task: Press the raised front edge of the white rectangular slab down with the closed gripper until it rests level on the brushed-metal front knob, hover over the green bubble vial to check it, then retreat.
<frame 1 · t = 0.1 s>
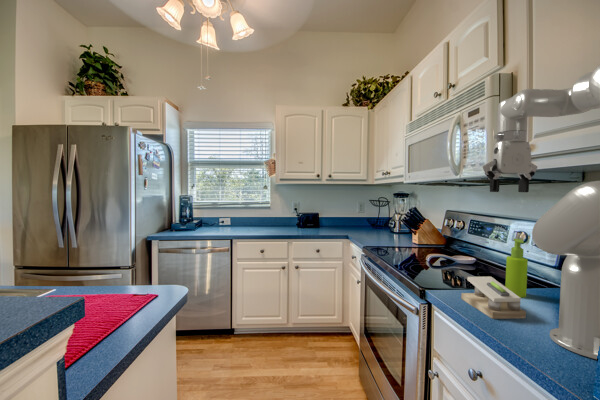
hand: (508, 192, 87), 37 cm above the countertop, tool pointing down, fingers open, 9 cm apart
level base: (490, 307, 85), on the countertop
white rectangular slab: (492, 286, 84), point 7 cm above the countertop, hinge at 12.0°
soap dispenser: (515, 295, 96), on the countertop
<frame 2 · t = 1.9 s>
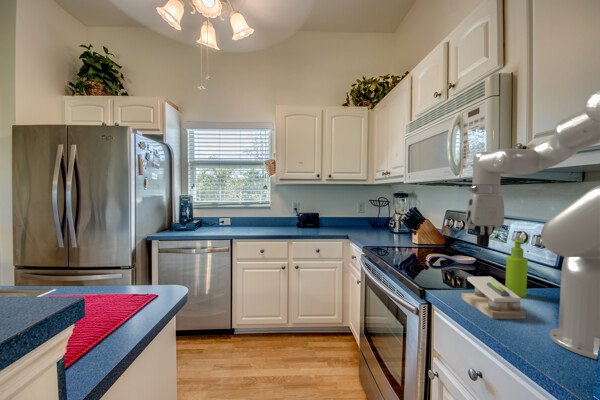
hand: (482, 246, 89), 19 cm above the countertop, tool pointing down, fingers closed
nothing on the countertop moved.
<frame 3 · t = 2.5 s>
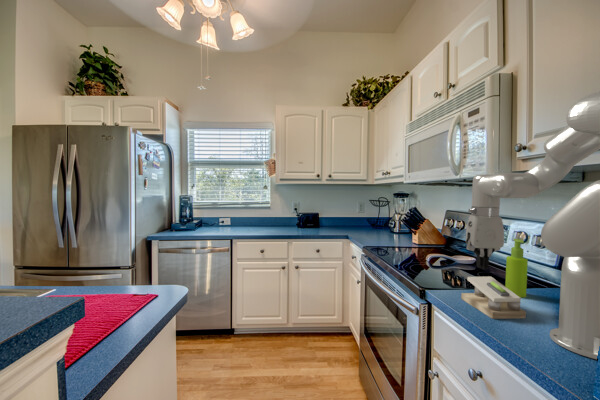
hand: (482, 267, 89), 12 cm above the countertop, tool pointing down, fingers closed
nothing on the countertop moved.
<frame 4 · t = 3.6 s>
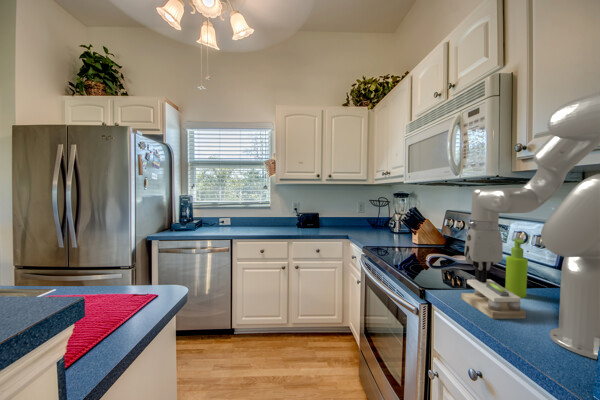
hand: (480, 280, 89), 7 cm above the countertop, tool pointing down, fingers closed
white rectangular slab: (492, 287, 84), point 7 cm above the countertop, hinge at 6.7°, touching gripper
everything else where it was.
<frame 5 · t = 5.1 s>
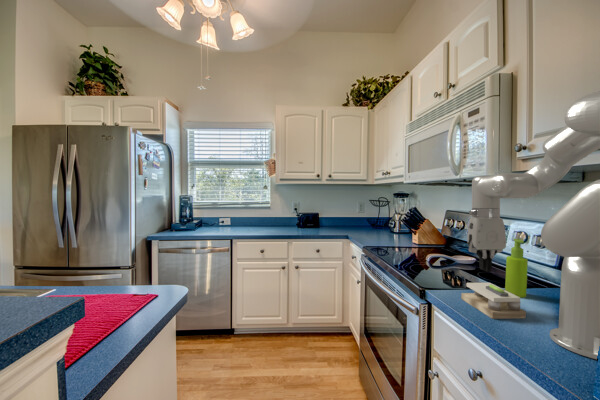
hand: (485, 270, 88), 11 cm above the countertop, tool pointing down, fingers closed
white rectangular slab: (491, 289, 85), point 6 cm above the countertop, hinge at 1.2°
everything else where it was.
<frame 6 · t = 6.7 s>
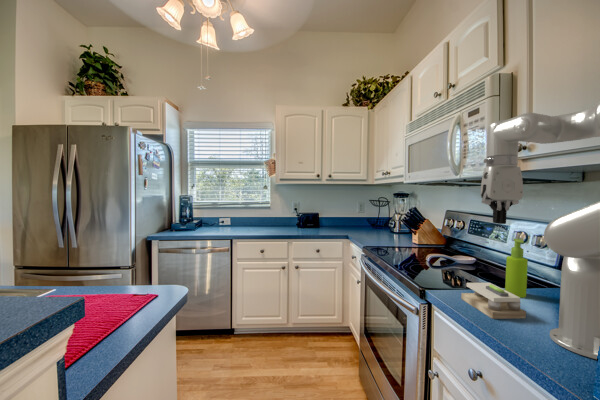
hand: (499, 223, 82), 27 cm above the countertop, tool pointing down, fingers closed
nothing on the countertop moved.
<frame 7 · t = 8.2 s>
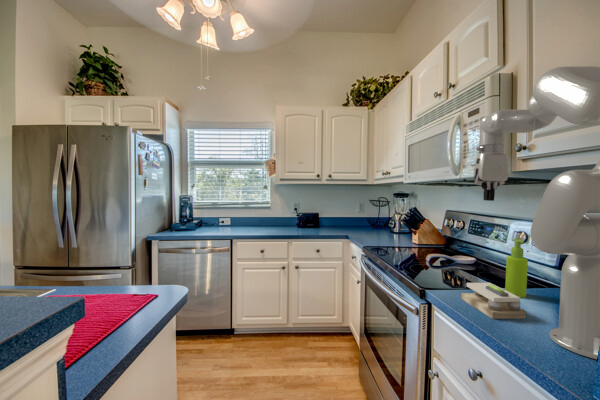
hand: (488, 200, 100), 33 cm above the countertop, tool pointing down, fingers closed
nothing on the countertop moved.
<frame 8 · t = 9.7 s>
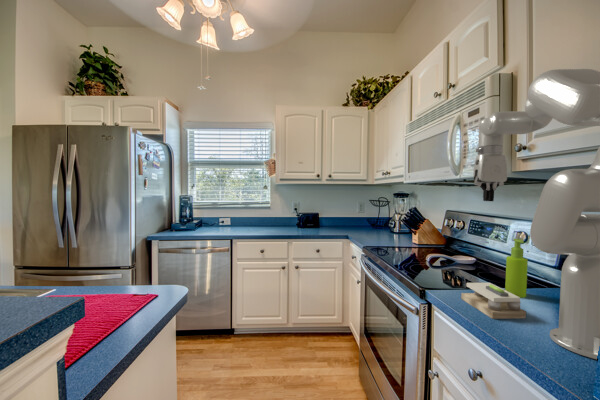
hand: (488, 200, 101), 33 cm above the countertop, tool pointing down, fingers closed
nothing on the countertop moved.
at the end: white rectangular slab at +1° (first picture: +12°); soap dispenser moved 0.2 cm from its start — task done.
